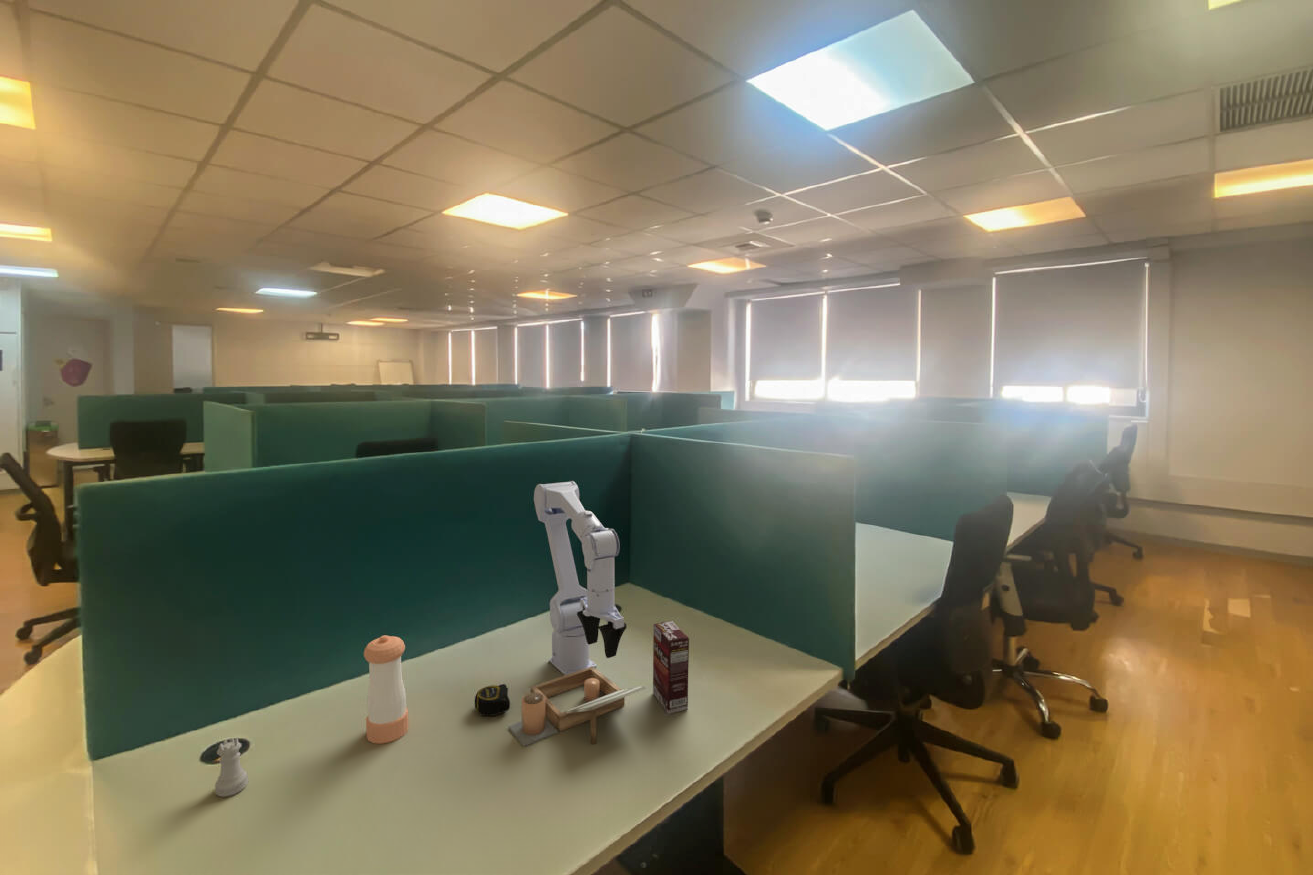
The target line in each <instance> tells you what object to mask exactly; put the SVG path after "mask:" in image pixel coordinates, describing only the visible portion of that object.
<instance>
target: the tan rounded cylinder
mask: <svg viewBox="0 0 1313 875" xmlns="http://www.w3.org/2000/svg"><path fill="white" fill-rule="evenodd" d="M583 688H584V689H583V693H584V694H583V696H584V697H583V699H584V700H585V701H586V702H590V701H593V700H595V699H598V698H600V689H599V680H598V679H595V678H590V679H587V680H585V682H584V687H583Z"/></svg>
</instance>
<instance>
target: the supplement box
mask: <svg viewBox="0 0 1313 875" xmlns="http://www.w3.org/2000/svg"><path fill="white" fill-rule="evenodd" d="M652 639H653V645H652V646H653V648H652V649H653V650H652V652H653V655H652V656H653V657H652V659H653V660H652V661H653V662H652V669H653V670H652V693H653V695H654V696H655V697H656V698H657V700H658V701H659V703H660V704H661V705H662V707H663V709H664V710H665V711H666V714H668V715H669V714H674V713H678V712H682V711H686V710H688V707H689V706H688V704H689V695H688V694H689V662H690V660H689V658H690V657H689V655H690V637H689V636H688V635H686V634H685V633H684V632H683V631H682V629H680V628H679V627H678V626H677V624H675V622H674V621H673V620H670V621H669V620H668V621H662V622H658V623H654V624H653V638H652Z"/></svg>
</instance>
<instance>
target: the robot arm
mask: <svg viewBox="0 0 1313 875" xmlns="http://www.w3.org/2000/svg"><path fill="white" fill-rule="evenodd" d="M533 502H534V507H535V512H536V516H537V520H538V521H539V522H541V523H542V524H543V523H544V526H545V531H546V533H547V539H548V544H549V548H550V554H551V558H552V563H553V568H554V573H555V578H556V583H557V586H558V587H557V588H558V591H557V592H556V593H555V594H554V595H553V596H552V597H551V599H550V602H549V610H550V617H549V618H550V619H549V620H550V623H551V627H552V629H553V631H552V634H551V657H550V658H548V662H550V663H551V664H552V666H554V667H555V668H556V669H558V670H559V671H560V672H561V673H562V674H563V676H565V675H568V674H571V673H574V672H576V671H579V670H582V669H585V668H588V667H591V666H593V667H594V668H595V669H596V668H597V664H596V663H595V662H594V661H592V660H591V659H590V645H592V644H595V643H598V640H599V631H600V633H601V636H602V639H603V647H604V654H605V657H606V658H607V659H610V658H613V657H615V656H617V653H618V648H619V644H620V641H621V639H622V636H623V635H624V632H625V631H626V629H627V623H625V617H623V616H622V615H621V614H620V612H619V610H618V608H617V607H616V604H615V594H616V593H615V584H616V583H615V557H617V556H619V553H620V546H621V545H620V539H619V536H618V534H617V532H616V531H615V529H614V528H609V527H604V525H603V524H602V523H601V522H600V520H599V519H598V518H597V516H596V515H595V514H594V513H593V512H592V511H590V510H586V509H585V508H584V506H583V504H582V502H581V501H580V490H579V487H578V484H577V483H576V482H575V481H574V480H569V481H565V482H563V481H562V482H554V483H553V482H552V483H545V484H544V483H543V484H542V483H538V484H537V485H536V486H535V489H534V492H533ZM569 519H570V520H571V524H570V525H571V529H572V531H573V532H574V534H576V537H577V538H578V539H579V540H580V543H581V548H582V553H583V554H582V555H583V556H584V566H585V568H587V569H586V571H587V572H586V575H587V577H586V580H587V584H586V587H587V589H586V588H584V587H583V586H581V585H580V583H579V579H578V578H579V577H578V573H577V569H576V564H575V559H574V555H573V550H572V546H571V541H570V537H569V534H568V533H569V532H568V528H567V524H566V523H567V521H568V520H569ZM601 619H602V620H604V621H606V622H607V623H605V624H603V625H602V624H601V625H600V622H601Z"/></svg>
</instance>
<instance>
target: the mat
mask: <svg viewBox="0 0 1313 875" xmlns="http://www.w3.org/2000/svg"><path fill="white" fill-rule="evenodd" d="M508 729H509V731H510V732H511V733H512V734H513V736H515V738H516V739H517V741H519V743H520V744H521V746H523V747H527V746H529V745H531V744H534V743H535V742H538V741H541V740H543V739H546V738H548V737H551V736H553V735H556V734H558V733H559V732H558V731H559V730H558V729H557V728H556V727H555V726H554V725H553V724H552V723H551V722H550V720H549V719H548V718H547V717H545V730H544V731H543V732H541V733H540V734H537V735H527V734H525V733H524V732H523V731H522V720H521V721H517V722H515V723H512V724H510V725H508Z"/></svg>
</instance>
